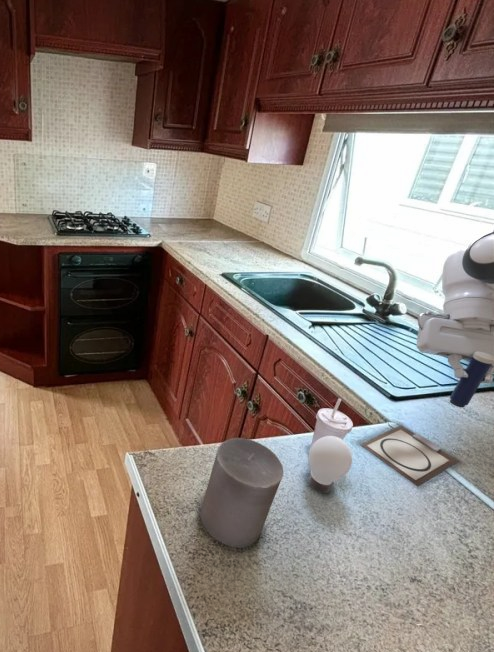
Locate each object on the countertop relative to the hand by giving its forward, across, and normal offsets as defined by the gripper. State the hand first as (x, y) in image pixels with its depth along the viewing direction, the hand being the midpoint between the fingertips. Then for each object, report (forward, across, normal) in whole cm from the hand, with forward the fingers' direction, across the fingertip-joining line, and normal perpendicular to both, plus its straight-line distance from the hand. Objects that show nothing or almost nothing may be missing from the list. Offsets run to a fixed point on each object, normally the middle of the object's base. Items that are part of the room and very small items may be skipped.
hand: (473, 380), depth 83 cm
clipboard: (+17, -10, +6) cm, 20 cm away
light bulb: (+27, -31, -5) cm, 42 cm away
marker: (+4, 0, +5) cm, 7 cm away
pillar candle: (+36, -48, -14) cm, 62 cm away
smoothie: (+22, -29, +1) cm, 36 cm away
